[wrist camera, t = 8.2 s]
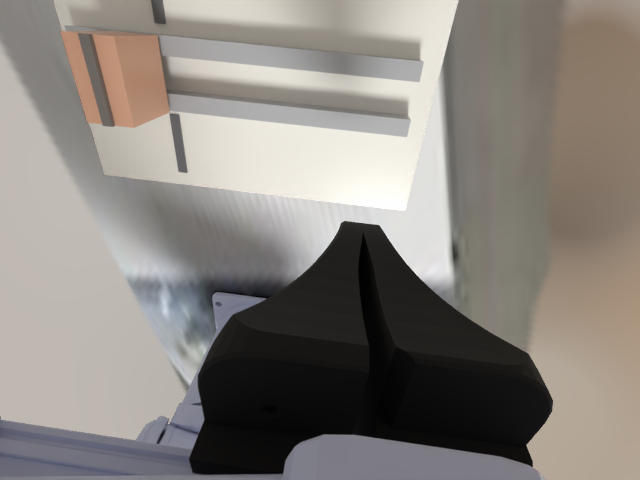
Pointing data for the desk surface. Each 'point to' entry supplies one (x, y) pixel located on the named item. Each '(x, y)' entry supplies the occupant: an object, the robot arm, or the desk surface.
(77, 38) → the fader
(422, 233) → the desk surface
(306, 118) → the white slider track board
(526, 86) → the desk surface
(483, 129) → the desk surface
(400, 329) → the robot arm
